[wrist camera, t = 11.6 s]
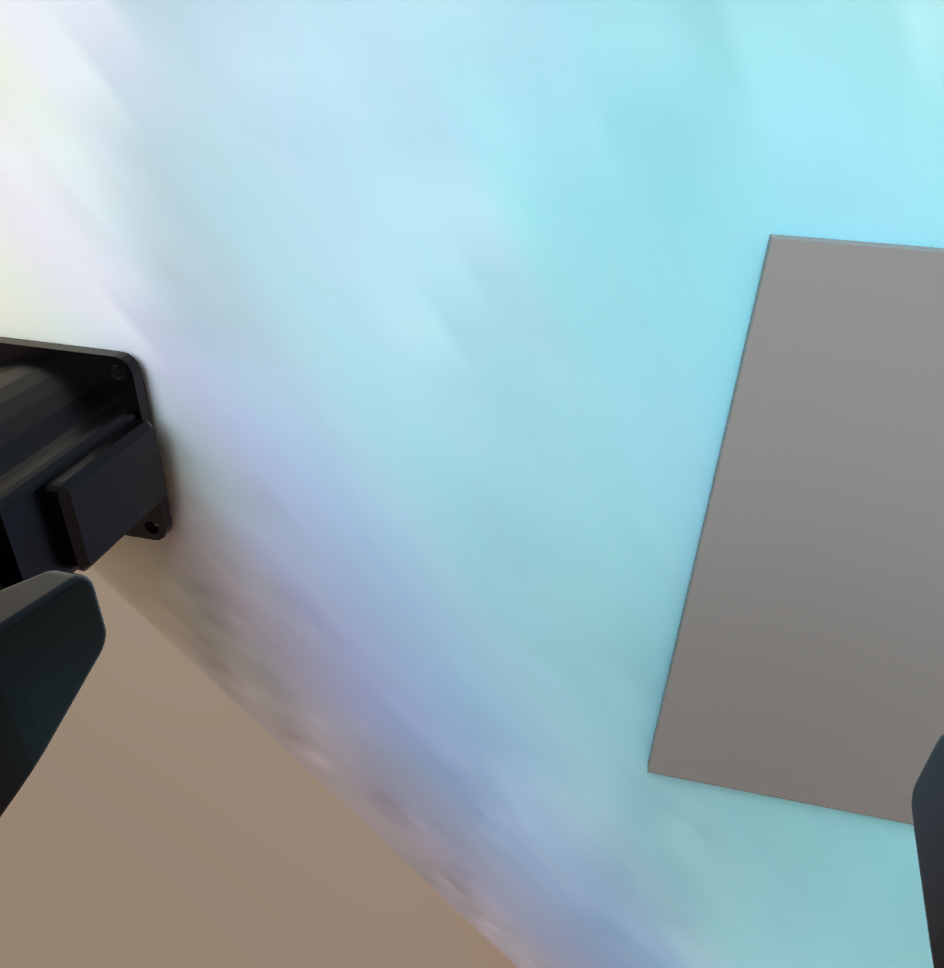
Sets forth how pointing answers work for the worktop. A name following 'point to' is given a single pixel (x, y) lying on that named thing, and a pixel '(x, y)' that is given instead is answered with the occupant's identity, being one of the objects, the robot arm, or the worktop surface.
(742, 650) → the slate mat
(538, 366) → the worktop surface
